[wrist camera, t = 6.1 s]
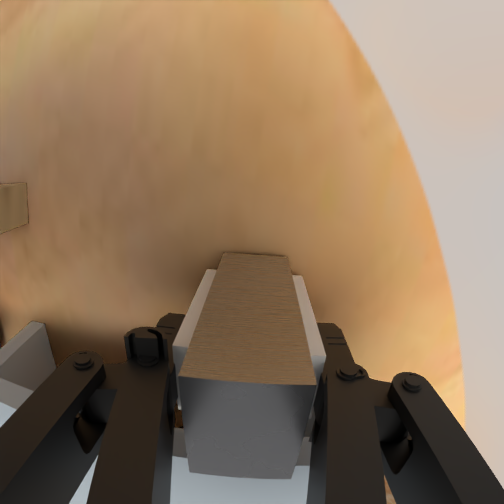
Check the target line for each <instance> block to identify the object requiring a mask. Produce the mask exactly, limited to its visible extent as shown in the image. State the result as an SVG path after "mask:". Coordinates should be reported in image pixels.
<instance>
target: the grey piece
mask: <svg viewBox="0 0 504 504" xmlns="http://www.w3.org/2000/svg"><path fill="white" fill-rule="evenodd" d="M178 379H179V390H180V401H181V410H182V419H183V428H184V436H185V444H186V452H187V459H188V466H189V472H191V473H198V474H206V475H215V476H225V477H238V478H254V479H291V478H292V475H293V472H294V469H295V465H296V462H297V459H298V455H299V452H300V448H301V445H302V441H303V438H304V434H305V430H306V427H307V423H308V419H309V415H310V411H311V407H312V403H313V399H314V395H315V391H316V387H317V383H316V378H315V373H314V369H313V364H312V360H311V355H310V350H309V346H308V341H307V337H306V332H305V328H304V324H303V319H302V315H301V310H300V306H299V302H298V298H297V293H296V289H295V285H294V281H293V276H292V272H291V268H290V264H289V260H288V257H283V256H268V255H253V254H239V253H223V255H222V258H221V260H220V263H219V266H218V268H217V271H216V274H215V276H214V279H213V282H212V284H211V287H210V290H209V292H208V295H207V298H206V300H205V303H204V306H203V308H202V311H201V314H200V317H199V319H198V322H197V325H196V327H195V330H194V333H193V336H192V338H191V341H190V344H189V347H188V349H187V352H186V355H185V358H184V361H183V363H182V366H181V369H180V372H179V375H178Z"/></svg>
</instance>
